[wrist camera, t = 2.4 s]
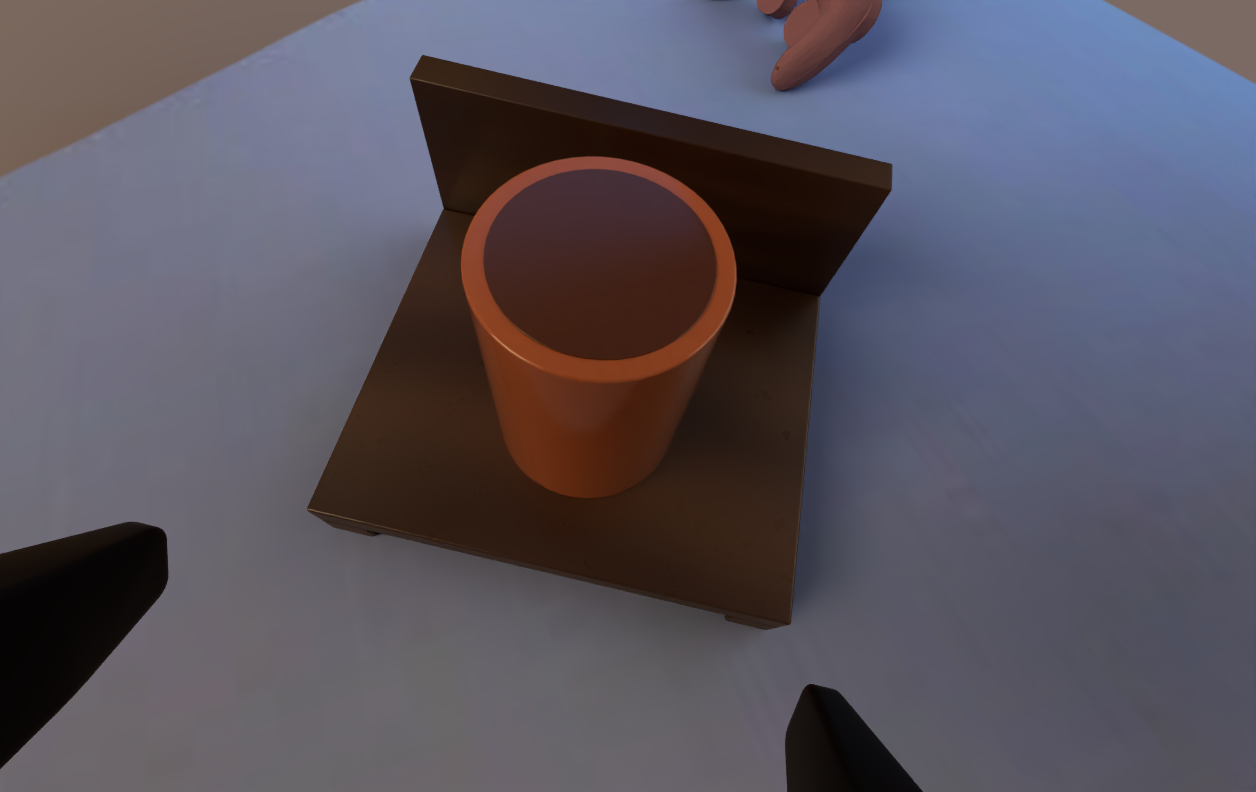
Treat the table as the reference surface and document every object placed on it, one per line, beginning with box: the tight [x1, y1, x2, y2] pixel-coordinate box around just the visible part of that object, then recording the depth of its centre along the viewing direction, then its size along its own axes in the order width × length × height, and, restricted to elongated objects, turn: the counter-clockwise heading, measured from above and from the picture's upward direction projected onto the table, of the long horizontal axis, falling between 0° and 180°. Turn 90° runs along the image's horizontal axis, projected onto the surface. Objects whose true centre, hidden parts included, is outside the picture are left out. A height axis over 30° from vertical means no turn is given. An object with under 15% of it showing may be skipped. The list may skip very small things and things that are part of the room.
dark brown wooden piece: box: [307, 55, 892, 630], centre depth 21 cm, size 14×16×8 cm
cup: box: [461, 156, 737, 498], centre depth 18 cm, size 6×6×9 cm
